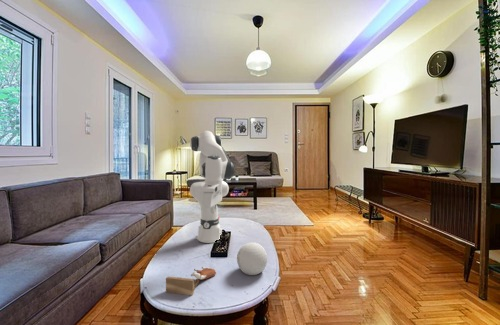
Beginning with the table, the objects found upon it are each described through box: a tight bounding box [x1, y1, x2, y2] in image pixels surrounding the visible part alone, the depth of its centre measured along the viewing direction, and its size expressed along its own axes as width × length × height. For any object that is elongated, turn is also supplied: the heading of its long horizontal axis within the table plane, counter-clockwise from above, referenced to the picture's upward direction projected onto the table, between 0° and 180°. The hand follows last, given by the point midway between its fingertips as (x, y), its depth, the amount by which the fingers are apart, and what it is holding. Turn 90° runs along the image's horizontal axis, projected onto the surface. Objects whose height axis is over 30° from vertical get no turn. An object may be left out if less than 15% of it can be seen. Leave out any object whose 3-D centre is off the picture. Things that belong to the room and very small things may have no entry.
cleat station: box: [165, 276, 200, 296], centre depth 104 cm, size 10×12×6 cm
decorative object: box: [236, 241, 268, 276], centre depth 117 cm, size 15×15×15 cm
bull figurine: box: [190, 266, 217, 282], centre depth 111 cm, size 4×13×8 cm
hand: (213, 212), depth 124 cm, fingers closed
